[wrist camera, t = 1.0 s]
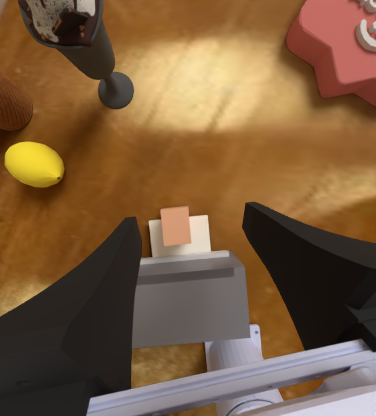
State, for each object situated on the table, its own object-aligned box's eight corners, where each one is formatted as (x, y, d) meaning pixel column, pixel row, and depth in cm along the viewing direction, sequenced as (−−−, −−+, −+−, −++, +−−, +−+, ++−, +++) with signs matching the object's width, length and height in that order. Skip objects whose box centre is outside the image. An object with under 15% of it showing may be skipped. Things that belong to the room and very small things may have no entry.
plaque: (282, 38, 20) (352, -75, 19) (267, 64, 24) (325, -29, 23) (406, 120, 20) (478, 10, 20) (371, 133, 24) (431, 41, 24)
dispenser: (235, 304, 24) (250, 337, 18) (140, 313, 25) (124, 349, 19) (230, 246, 24) (244, 261, 18) (133, 255, 24) (115, 273, 18)
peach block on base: (214, 299, 24) (222, 325, 19) (158, 304, 24) (150, 332, 19) (206, 204, 23) (210, 204, 18) (148, 209, 23) (137, 211, 18)
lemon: (29, 174, 24) (-21, 164, 19) (47, 142, 24) (2, 122, 19) (65, 199, 24) (24, 195, 18) (85, 166, 23) (48, 152, 18)
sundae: (95, 62, 23) (-72, -189, 8) (143, 70, 23) (62, -166, 8) (88, 110, 24) (-86, -50, 9) (136, 118, 24) (44, -29, 9)
